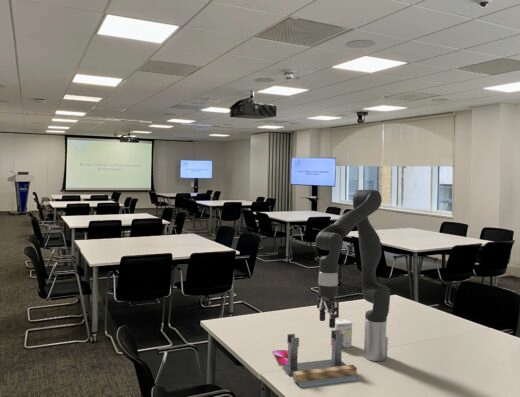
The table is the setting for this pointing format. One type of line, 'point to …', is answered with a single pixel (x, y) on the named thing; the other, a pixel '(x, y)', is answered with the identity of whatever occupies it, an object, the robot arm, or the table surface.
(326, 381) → the mat
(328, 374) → the rail
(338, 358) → the rack
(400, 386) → the table surface
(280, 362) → the smartphone
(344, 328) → the ink box
